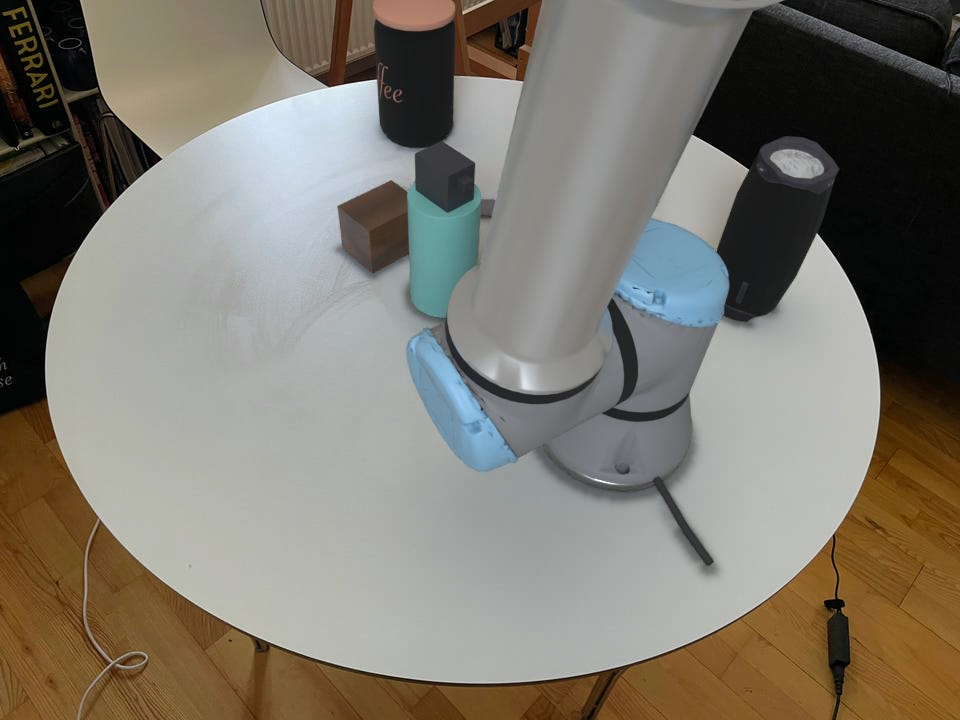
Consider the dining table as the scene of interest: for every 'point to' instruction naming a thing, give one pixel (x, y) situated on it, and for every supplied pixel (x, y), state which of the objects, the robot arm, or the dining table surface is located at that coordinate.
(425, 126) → the coffee jar
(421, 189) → the spray bottle
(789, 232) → the portable speaker
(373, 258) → the block
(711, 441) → the dining table surface
